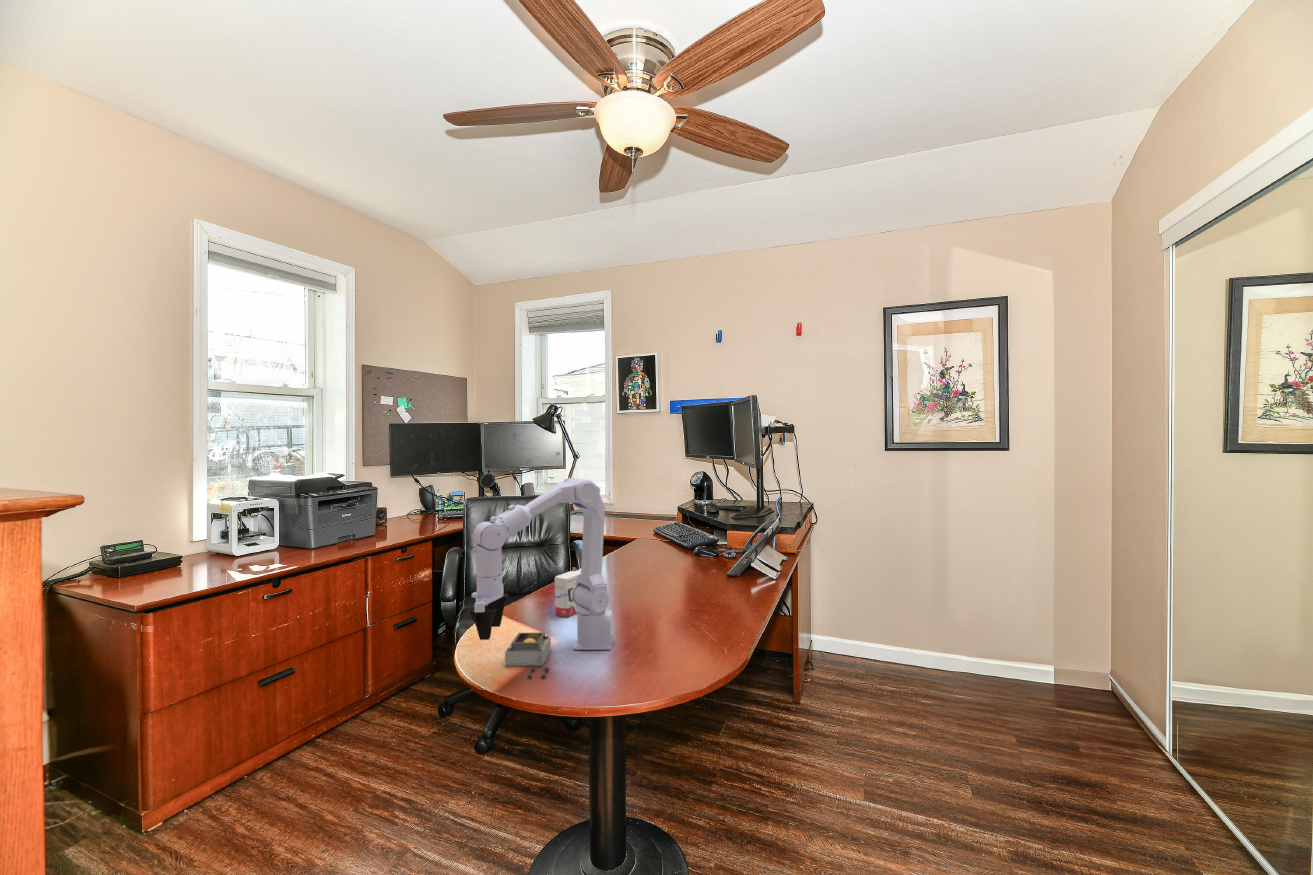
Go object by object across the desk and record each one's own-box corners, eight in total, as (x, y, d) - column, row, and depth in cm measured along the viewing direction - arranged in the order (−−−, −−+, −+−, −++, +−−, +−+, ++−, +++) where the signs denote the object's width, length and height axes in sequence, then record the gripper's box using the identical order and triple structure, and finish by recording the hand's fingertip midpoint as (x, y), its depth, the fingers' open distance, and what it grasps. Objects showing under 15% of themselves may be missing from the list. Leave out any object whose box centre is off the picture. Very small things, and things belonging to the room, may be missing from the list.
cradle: (548, 670, 125) (548, 667, 125) (544, 678, 121) (544, 675, 121) (531, 670, 125) (531, 667, 125) (527, 678, 121) (527, 675, 121)
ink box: (567, 618, 159) (566, 579, 159) (554, 615, 162) (553, 577, 161) (584, 609, 167) (584, 572, 166) (572, 606, 169) (571, 570, 169)
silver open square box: (550, 649, 137) (550, 630, 136) (542, 665, 128) (542, 645, 127) (516, 650, 137) (515, 630, 137) (505, 665, 128) (505, 645, 128)
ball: (528, 655, 135) (529, 639, 136) (540, 655, 133) (541, 638, 134) (517, 655, 131) (518, 638, 133) (529, 654, 130) (530, 637, 131)
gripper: (482, 566, 130) (483, 620, 130) (460, 583, 116) (461, 645, 116) (511, 565, 130) (512, 620, 130) (492, 583, 115) (493, 645, 116)
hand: (490, 632), depth 123 cm, fingers open, 7 cm apart
